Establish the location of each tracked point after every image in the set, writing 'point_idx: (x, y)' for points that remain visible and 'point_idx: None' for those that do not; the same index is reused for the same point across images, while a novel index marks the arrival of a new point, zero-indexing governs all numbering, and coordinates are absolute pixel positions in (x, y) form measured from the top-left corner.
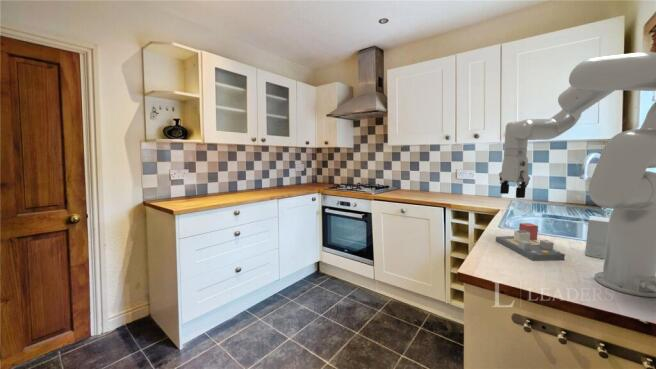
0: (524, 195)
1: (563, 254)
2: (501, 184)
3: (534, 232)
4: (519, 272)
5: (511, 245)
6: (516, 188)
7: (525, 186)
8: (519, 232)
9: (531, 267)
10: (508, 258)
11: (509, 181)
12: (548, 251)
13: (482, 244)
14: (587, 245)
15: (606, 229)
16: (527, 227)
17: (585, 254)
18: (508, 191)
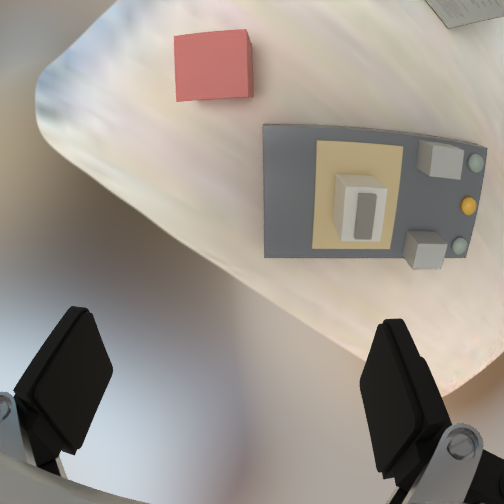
0: (409, 339)
1: (486, 153)
2: (71, 453)
3: (249, 54)
4: (482, 320)
5: (369, 255)
6: (385, 469)
7: (476, 451)
8: (369, 234)
9: (480, 281)
10: (424, 301)
11: (24, 446)
12: (460, 180)
13: (297, 311)
14: (472, 22)
15: None
16: (248, 95)
17: (450, 27)
18: (81, 329)
